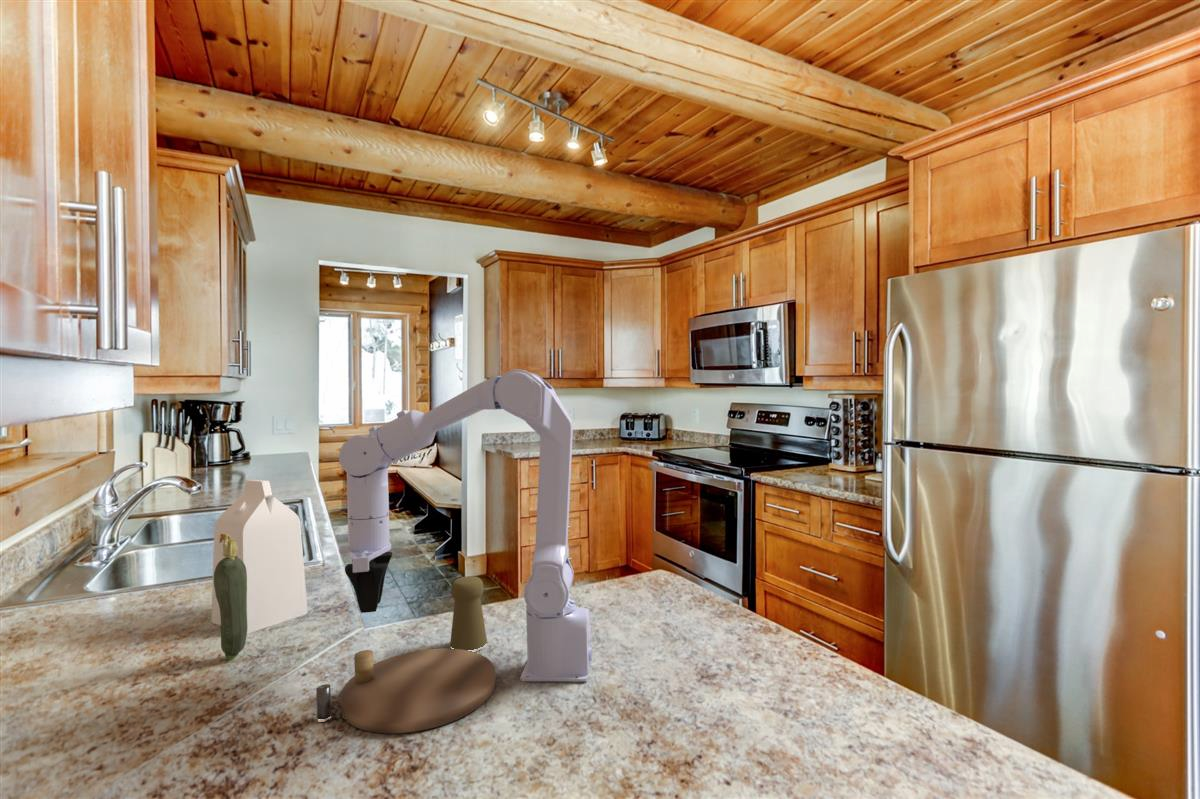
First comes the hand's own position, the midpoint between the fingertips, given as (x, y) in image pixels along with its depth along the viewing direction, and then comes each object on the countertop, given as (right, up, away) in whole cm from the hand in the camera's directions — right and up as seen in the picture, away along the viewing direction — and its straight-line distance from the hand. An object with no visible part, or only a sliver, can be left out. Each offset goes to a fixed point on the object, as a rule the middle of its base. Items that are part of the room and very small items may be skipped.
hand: (370, 607), depth 85 cm
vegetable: (-24, -10, +5) cm, 26 cm away
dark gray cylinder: (+7, -9, -8) cm, 14 cm away
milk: (-30, -11, +23) cm, 40 cm away
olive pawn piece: (+13, -9, +8) cm, 18 cm away
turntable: (+10, -9, -7) cm, 15 cm away
